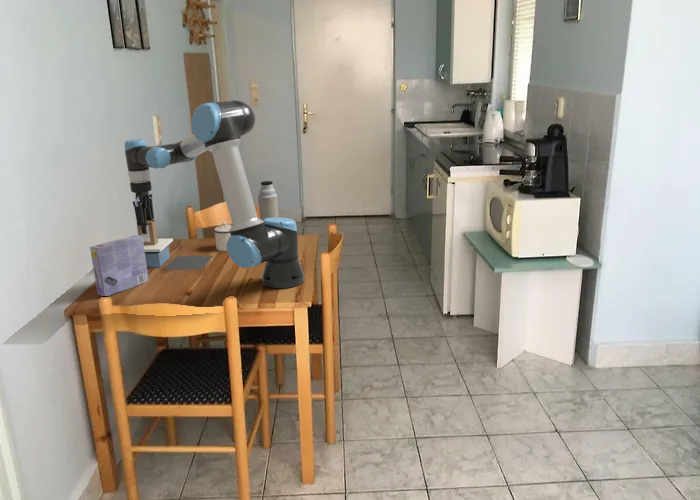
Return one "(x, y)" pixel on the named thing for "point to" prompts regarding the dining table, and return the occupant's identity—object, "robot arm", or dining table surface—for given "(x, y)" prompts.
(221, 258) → the dining table surface
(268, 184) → the thermos bottle
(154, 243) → the lid
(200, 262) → the mat
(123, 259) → the cake pan box
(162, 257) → the blue open box
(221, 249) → the teacup with lid
